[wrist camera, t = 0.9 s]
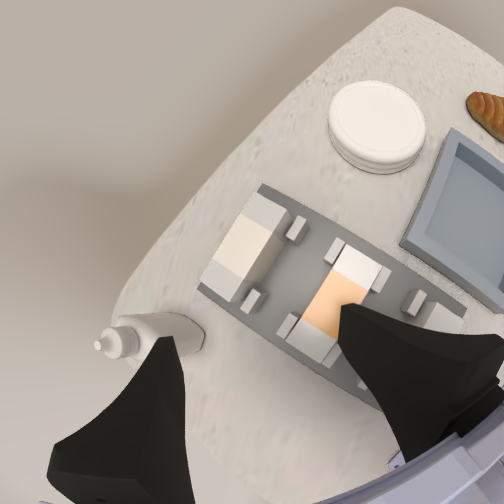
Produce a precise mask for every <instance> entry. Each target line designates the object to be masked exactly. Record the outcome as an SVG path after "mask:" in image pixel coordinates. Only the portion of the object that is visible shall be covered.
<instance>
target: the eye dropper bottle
mask: <svg viewBox="0 0 504 504" xmlns="http://www.w3.org/2000/svg"><path fill="white" fill-rule="evenodd" d="M166 336H173V338H174V342H175V345H176V349H177V353H178V356H179V358H180V357H183V356H186V355H189V354H192V353H194V352H197V351H199V350H200V348H201V345H202V342H203V339H204V332H203V330H202V329H201V328H200V327H199V326H198V325H197V324H195V323H194V322H193V321H192V320H190V319H188V318H186V317H184V316H182V315H179V314H175V313H152V314H135V315H123V316H120V317H118V318H117V320H116V322H115V325H114V327H109V328H106V329H105V330H104V331H103V332H102V334H101V339H100V340H97V341H96V342H95V344H94V345H95V348H96V350H99V351H103V352H104V353H105V354H106V356H107V357H109V358H110V359H114V360H115V359H120V358H125V357H129V356H130V357H131V358H133V359H135V360H138V361H141V362H144V360H145V359H146V357H147V355H148V354H149V352H150V350H151V348H152V347H153V345H154V343H155V342H156V340H157V339H158V337H166Z"/></svg>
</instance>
